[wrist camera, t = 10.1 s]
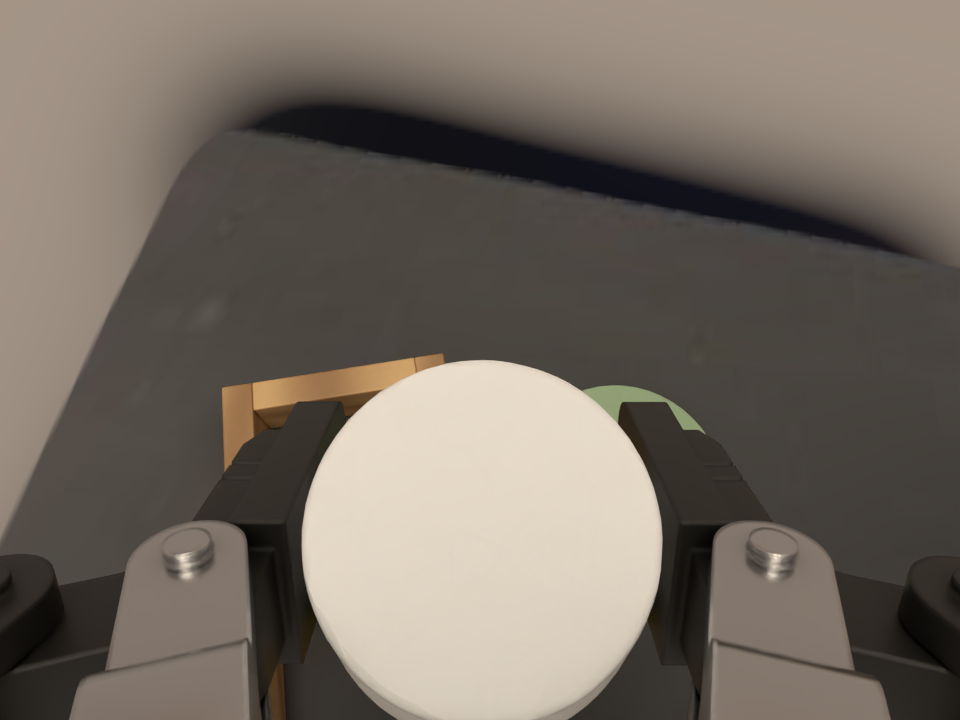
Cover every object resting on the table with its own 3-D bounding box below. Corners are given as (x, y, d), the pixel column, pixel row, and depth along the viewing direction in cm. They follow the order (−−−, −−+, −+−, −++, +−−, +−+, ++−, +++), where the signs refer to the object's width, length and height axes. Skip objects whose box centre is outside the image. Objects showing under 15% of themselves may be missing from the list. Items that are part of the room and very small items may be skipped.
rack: (445, 375, 30) (443, 352, 28) (518, 814, 24) (523, 831, 22) (240, 407, 30) (221, 387, 27) (259, 868, 23) (235, 892, 21)
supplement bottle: (399, 467, 16) (327, 297, 8) (598, 499, 16) (710, 353, 8) (351, 687, 14) (204, 727, 7) (575, 729, 14) (693, 820, 6)
